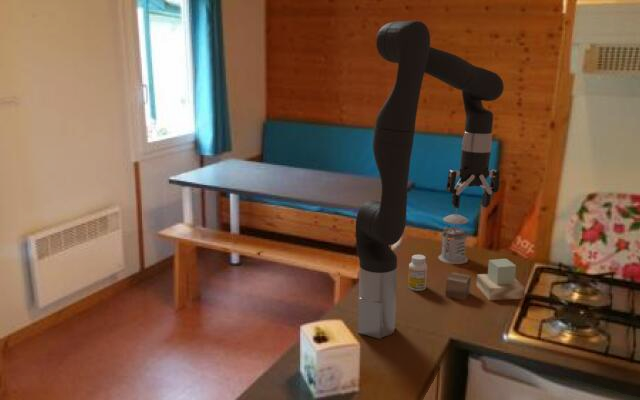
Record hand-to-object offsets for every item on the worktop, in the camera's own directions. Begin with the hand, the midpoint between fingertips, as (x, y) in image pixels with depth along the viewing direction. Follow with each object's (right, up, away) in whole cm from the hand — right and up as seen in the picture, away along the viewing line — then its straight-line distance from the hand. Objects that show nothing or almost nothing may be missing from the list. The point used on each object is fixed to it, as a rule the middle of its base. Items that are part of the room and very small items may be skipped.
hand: (470, 207), depth 157 cm
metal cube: (-2, -26, +8) cm, 27 cm away
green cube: (+11, -21, +9) cm, 26 cm away
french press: (+3, -18, +34) cm, 39 cm away
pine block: (+11, -25, +10) cm, 29 cm away
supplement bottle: (-13, -24, +13) cm, 30 cm away
